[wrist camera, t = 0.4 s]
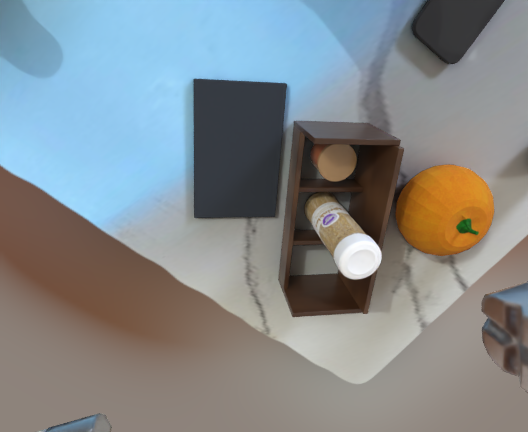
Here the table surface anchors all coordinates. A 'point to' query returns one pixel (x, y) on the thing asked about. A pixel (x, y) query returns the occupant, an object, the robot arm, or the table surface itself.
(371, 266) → the sprinkles bottle
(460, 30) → the phone
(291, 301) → the spice rack
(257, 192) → the rubber mat
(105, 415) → the robot arm
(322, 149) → the spice tin
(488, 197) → the fruit
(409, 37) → the table surface
